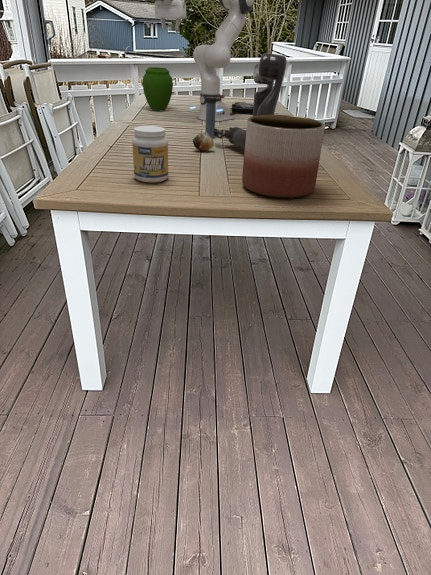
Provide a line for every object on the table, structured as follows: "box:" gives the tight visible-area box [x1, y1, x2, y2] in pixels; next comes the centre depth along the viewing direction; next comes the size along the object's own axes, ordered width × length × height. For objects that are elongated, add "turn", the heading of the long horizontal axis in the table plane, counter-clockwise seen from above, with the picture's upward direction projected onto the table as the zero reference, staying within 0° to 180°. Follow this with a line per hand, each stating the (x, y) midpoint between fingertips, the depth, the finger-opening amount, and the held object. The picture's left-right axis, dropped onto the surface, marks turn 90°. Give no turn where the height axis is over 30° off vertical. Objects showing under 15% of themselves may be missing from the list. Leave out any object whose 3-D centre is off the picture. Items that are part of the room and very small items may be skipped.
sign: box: [231, 101, 254, 115], centre depth 282 cm, size 19×3×30 cm
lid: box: [205, 97, 217, 103], centre depth 198 cm, size 6×6×2 cm
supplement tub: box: [131, 125, 169, 183], centre depth 142 cm, size 12×12×17 cm
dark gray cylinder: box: [204, 102, 216, 139], centre depth 202 cm, size 5×5×18 cm
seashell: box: [192, 132, 215, 152], centre depth 181 cm, size 10×6×8 cm, turn 97°
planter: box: [241, 114, 326, 199], centre depth 138 cm, size 25×25×22 cm
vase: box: [141, 66, 174, 112], centre depth 261 cm, size 20×20×24 cm
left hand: (170, 29), depth 206 cm, fingers open, 8 cm apart
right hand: (222, 130), depth 195 cm, fingers open, 8 cm apart
